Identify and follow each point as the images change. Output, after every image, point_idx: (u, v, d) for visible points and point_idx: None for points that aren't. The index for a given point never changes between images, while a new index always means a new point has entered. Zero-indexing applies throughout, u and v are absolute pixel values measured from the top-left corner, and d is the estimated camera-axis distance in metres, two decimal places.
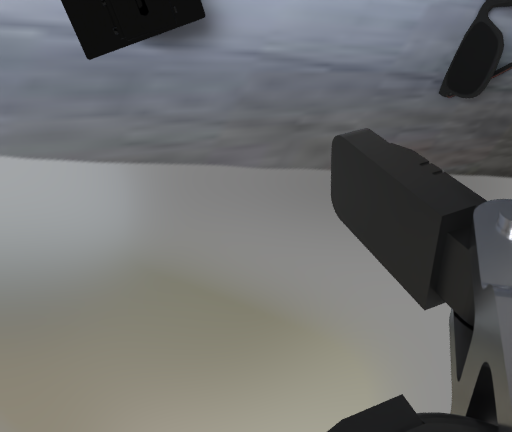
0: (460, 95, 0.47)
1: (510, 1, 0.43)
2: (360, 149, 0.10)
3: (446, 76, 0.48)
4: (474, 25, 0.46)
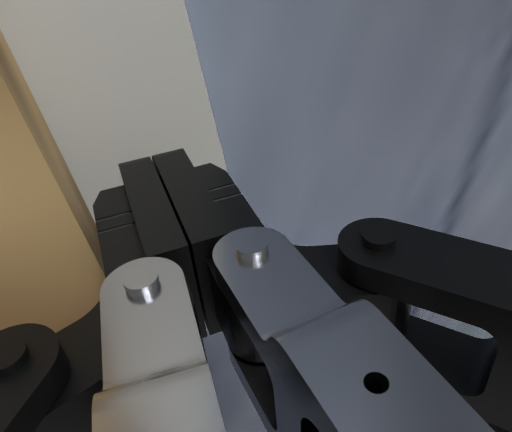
0: None
1: None
2: (161, 171, 0.10)
3: None
4: None
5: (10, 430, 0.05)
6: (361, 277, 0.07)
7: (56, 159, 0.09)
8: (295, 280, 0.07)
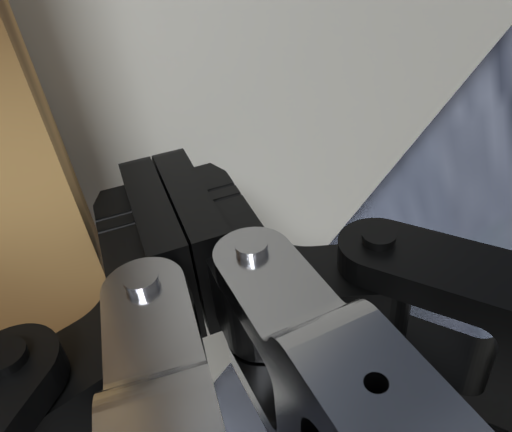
0: None
1: None
2: (161, 171, 0.10)
3: None
4: None
5: (12, 430, 0.05)
6: (361, 277, 0.07)
7: (63, 155, 0.09)
8: (295, 280, 0.07)
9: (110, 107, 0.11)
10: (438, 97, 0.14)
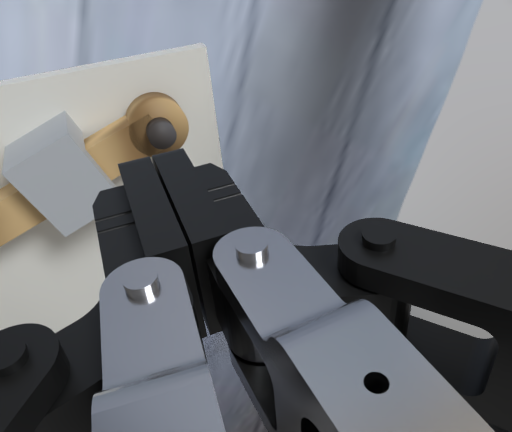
0: None
1: None
2: (161, 171, 0.10)
3: None
4: None
5: (10, 431, 0.05)
6: (361, 277, 0.07)
7: None
8: (295, 280, 0.07)
9: None
10: None
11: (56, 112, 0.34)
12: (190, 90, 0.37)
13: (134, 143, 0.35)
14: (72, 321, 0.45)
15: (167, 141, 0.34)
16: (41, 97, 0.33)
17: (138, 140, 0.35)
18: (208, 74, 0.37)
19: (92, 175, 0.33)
